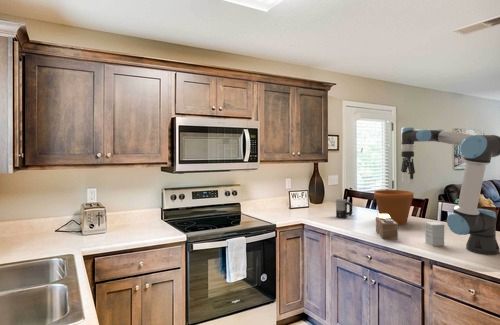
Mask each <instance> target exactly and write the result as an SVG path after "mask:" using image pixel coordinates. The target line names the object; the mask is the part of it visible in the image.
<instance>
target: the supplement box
mask: <svg viewBox="0 0 500 325" xmlns="http://www.w3.org/2000/svg"><path fill="white" fill-rule="evenodd" d="M424 225H425V226H424V227H425V229H424V230H425V236H424V237H425V244H427V245H430V246H432V247H437V246H441V245H442V246H445V224H444V223H441V222H439V221H430V222H429V221H427V222H426V221H425V224H424Z"/></svg>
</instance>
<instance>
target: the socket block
mask: <svg viewBox="0 0 500 325" xmlns="http://www.w3.org/2000/svg"><path fill="white" fill-rule="evenodd" d="M391 220H392V219H391ZM398 226H399V225H398V224H397V223H396V222H395V221H394V220H393V223H385V221H384V219H380V218H379V217H378V216H375V232H376V233H377V234H378V235H379V236H380V237H381V239H383V240H398V239H399V237H398V235H399V234H398V231H399V230H398Z"/></svg>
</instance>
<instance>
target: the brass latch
mask: <svg viewBox="0 0 500 325" xmlns="http://www.w3.org/2000/svg"><path fill="white" fill-rule="evenodd" d="M377 217H379V218H380V219H384V218H390V219H391V217H390V216H389V215H388V214H379V213H377Z"/></svg>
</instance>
